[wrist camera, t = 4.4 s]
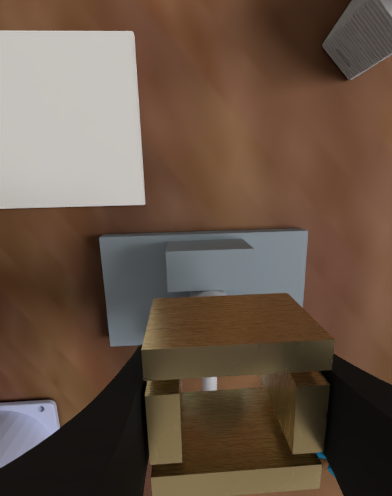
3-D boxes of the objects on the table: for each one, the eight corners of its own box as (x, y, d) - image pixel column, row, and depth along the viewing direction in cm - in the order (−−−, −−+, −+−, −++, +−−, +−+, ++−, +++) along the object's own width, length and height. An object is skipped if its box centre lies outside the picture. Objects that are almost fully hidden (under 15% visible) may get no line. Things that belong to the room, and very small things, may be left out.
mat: (-6, 208, 18) (-12, 209, 17) (-38, 36, 16) (-47, 30, 15) (145, 204, 18) (144, 204, 18) (134, 36, 16) (132, 31, 16)
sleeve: (160, 413, 12) (152, 501, 9) (153, 298, 11) (140, 350, 7) (281, 405, 12) (319, 488, 9) (287, 292, 11) (334, 339, 8)
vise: (118, 378, 21) (81, 492, 13) (104, 234, 19) (46, 269, 11) (291, 368, 22) (354, 471, 14) (300, 227, 19) (384, 256, 11)
